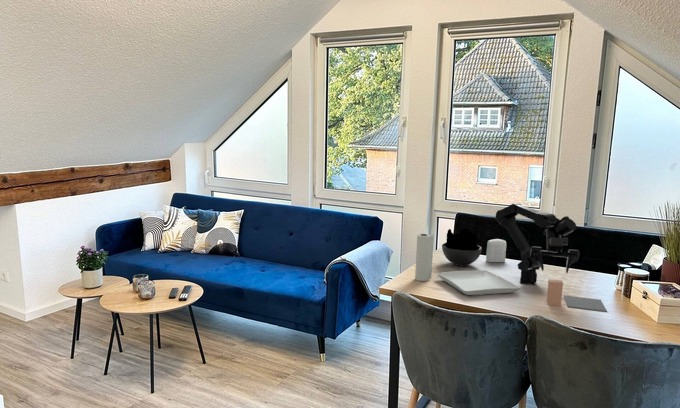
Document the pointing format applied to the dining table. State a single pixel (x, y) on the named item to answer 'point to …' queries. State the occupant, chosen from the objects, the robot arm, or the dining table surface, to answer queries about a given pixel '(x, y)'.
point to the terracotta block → (554, 292)
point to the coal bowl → (461, 248)
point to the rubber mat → (584, 303)
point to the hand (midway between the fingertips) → (554, 271)
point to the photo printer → (496, 250)
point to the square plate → (478, 282)
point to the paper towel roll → (424, 257)
